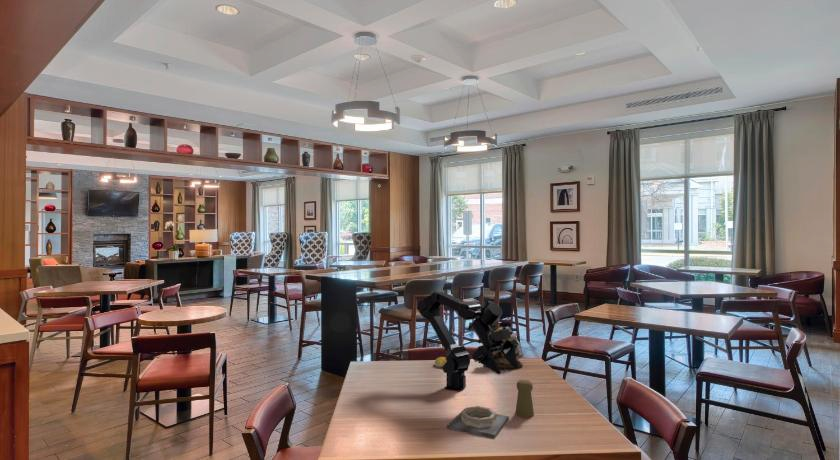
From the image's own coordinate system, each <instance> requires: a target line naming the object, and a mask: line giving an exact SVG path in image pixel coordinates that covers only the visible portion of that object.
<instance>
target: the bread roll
mask: <svg viewBox="0 0 840 460" xmlns="http://www.w3.org/2000/svg"><path fill="white" fill-rule="evenodd" d="M446 362H447V360H446V356H445V357H444V356H439V357H437V358H436V359H435V361H434V364H435V367H436V368H439V369H443V365H444V364H445V363H446ZM441 367H442V368H441Z"/></svg>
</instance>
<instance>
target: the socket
mask: <svg viewBox="0 0 840 460" xmlns="http://www.w3.org/2000/svg"><path fill="white" fill-rule="evenodd" d="M509 420H510V416H509V415H503V414H498V413H497V412H496V411H494V410H493V409H492V408H489V407H484V406H479V405H477V406H469V407H465V408H464V409H462V410H461V411H460V412H459V414H457V415H456V416H455V417H454V418H453V419H452V420H451V421H450V422H449V423H448V424H447V426H446V427H447V429H449V430H453V431H459V432H463V433H469V434H473V435H477V436H483V437H488V438H493V439H495V438H497V436H498V435H499V433H500V432H501V430H503V428H504V427H505V425H506V424H507V423H508V421H509Z"/></svg>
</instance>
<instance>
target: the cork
mask: <svg viewBox="0 0 840 460" xmlns="http://www.w3.org/2000/svg"><path fill="white" fill-rule="evenodd" d="M516 389H517V397H516V404H515V413H514V414H515V415H516V416H517V417H519V418H523V419H531V418H533V417H534V416H535V413H534V412H535V411H534V404H533V396H532V392H533V389H534V384H533V382H532V381H531V380H528V379H519V380H518V381H516Z"/></svg>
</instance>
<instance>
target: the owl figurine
mask: <svg viewBox="0 0 840 460" xmlns="http://www.w3.org/2000/svg"><path fill="white" fill-rule="evenodd" d="M502 328H503V327H501V326H500V327H498V328H497V329H495V330H496V331H499V330H502ZM510 336H511V338H507V339H504V342H503V343H501V345H503V344H504V343H505V342H506V341H507V340H510V339H516V341H517V342H518V344H519V345H518V346H517V348H516V351H515V354H516V359H517V363H518V366H519V368H518V369H517V370H519V369H520V368H523V363H522V362H521V361H520V359H522V358H523V357H524V354H522V353H520V352H521V343H520V341H519V340H518V339H517V336H516V335H515V334H512V335H510ZM493 358H494V360H495V362H496V364H497V366H498V367H499V369H500V371H503V370H504V371H505V370H507V371H509V370H510V371H511V370H512V371H513V370H516V369H515V368H514V367H513V366H512V365H511V364H510V363H509V362H508V361H507V359H506V358H505V357H504V354H502V353H501V351H500V352H495V353H493Z"/></svg>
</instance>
